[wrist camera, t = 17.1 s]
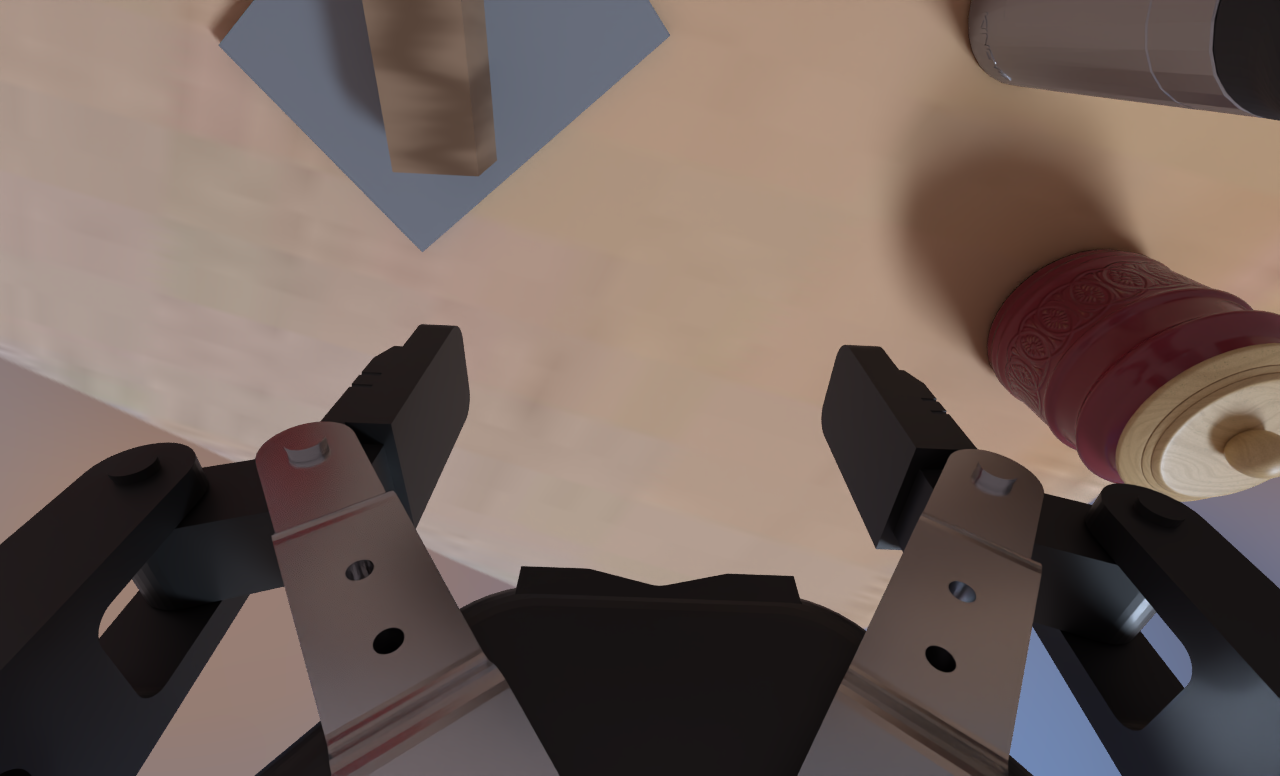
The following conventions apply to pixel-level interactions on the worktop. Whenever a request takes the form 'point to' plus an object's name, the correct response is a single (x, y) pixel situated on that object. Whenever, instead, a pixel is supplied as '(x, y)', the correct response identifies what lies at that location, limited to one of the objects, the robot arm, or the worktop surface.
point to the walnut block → (433, 84)
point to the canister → (1145, 373)
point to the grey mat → (519, 74)
